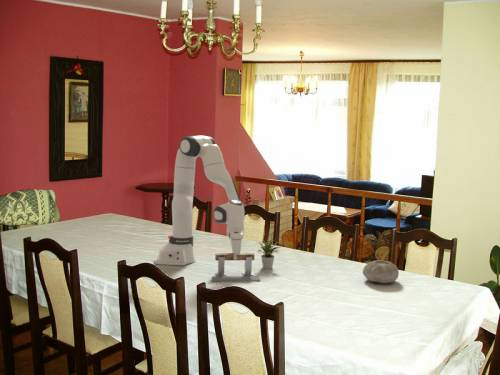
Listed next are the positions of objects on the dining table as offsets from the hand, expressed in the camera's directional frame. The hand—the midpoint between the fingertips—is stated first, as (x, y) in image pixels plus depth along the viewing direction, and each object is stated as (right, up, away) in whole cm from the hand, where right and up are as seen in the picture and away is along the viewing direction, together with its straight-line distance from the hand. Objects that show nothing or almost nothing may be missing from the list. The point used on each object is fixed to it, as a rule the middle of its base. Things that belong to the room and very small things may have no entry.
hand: (234, 258), depth 309 cm
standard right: (+7, -9, +2) cm, 11 cm away
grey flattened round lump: (+74, -11, -5) cm, 75 cm away
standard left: (-7, -9, +1) cm, 11 cm away
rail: (0, -1, 0) cm, 1 cm away
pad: (+1, -10, -7) cm, 12 cm away
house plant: (+17, -7, +15) cm, 23 cm away
